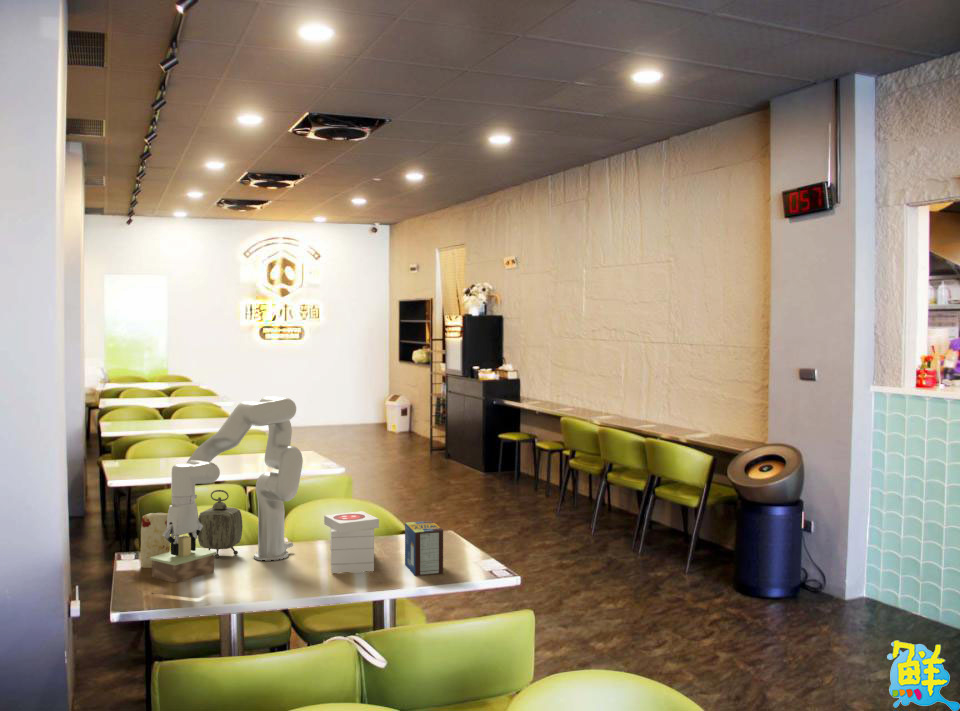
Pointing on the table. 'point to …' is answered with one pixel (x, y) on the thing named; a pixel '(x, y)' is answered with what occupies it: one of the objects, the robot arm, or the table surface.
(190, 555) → the lid
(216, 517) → the tabletop clock
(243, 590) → the table surface
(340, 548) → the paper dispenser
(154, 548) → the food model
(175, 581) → the box
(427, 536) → the protein box
